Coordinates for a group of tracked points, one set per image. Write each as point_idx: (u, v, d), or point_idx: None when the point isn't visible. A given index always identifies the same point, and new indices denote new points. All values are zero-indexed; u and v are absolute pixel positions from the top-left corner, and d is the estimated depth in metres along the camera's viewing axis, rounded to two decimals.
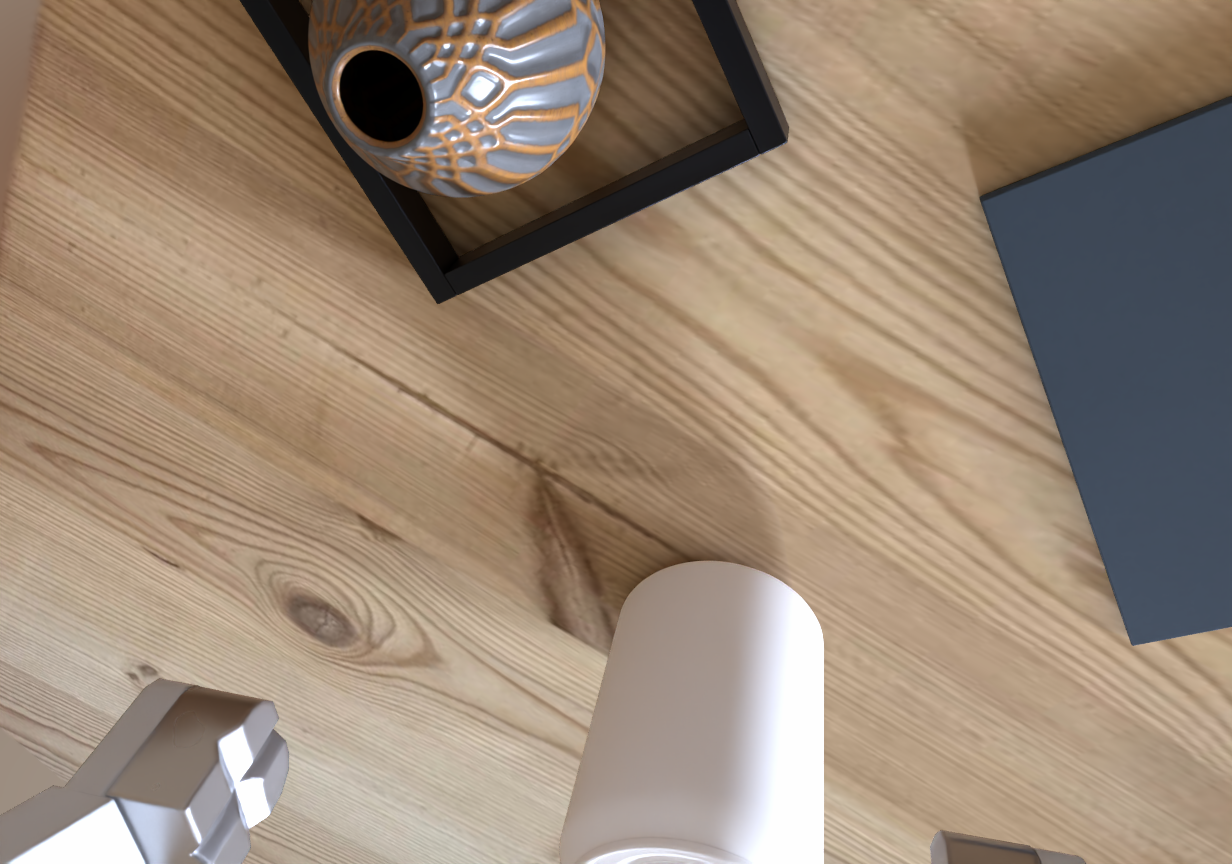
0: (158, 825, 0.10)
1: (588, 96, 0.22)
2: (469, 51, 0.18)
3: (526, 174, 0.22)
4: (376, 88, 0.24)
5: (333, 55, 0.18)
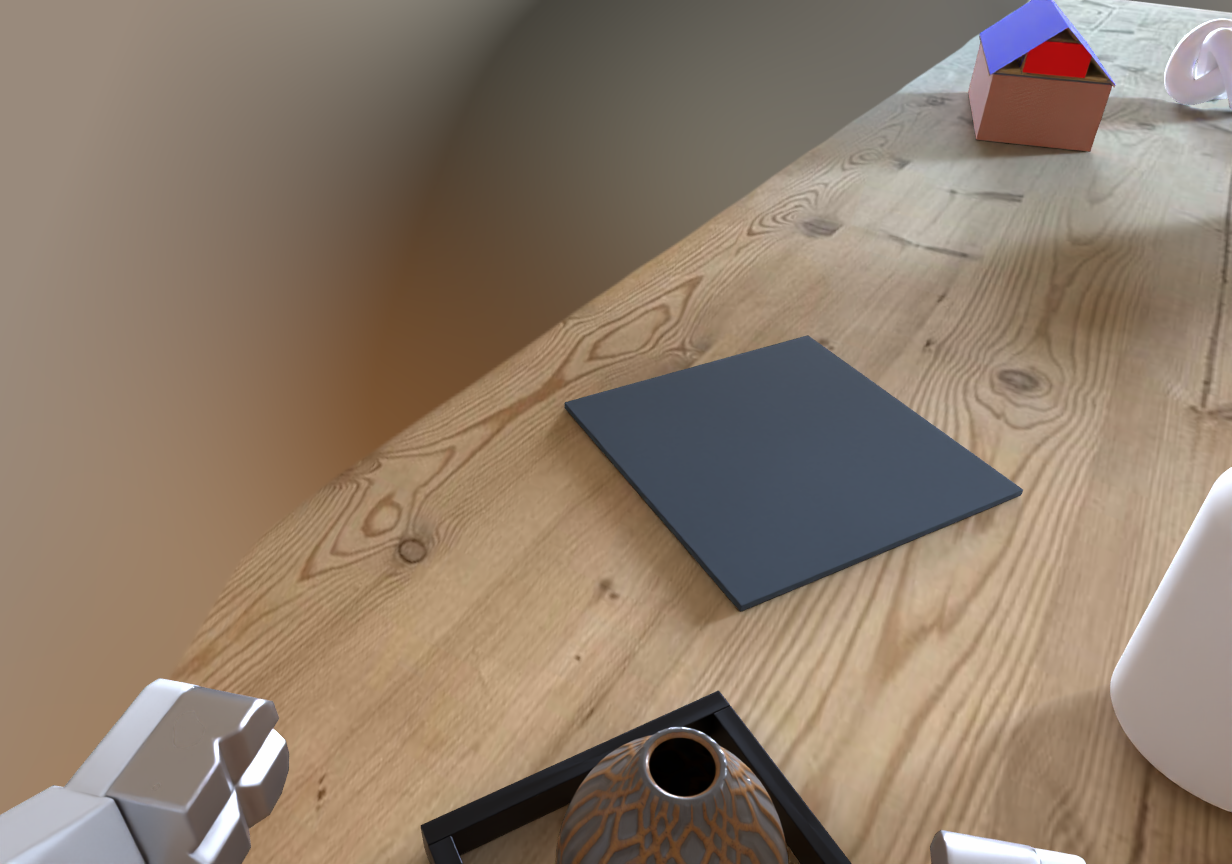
0: (158, 825, 0.10)
1: (692, 755, 0.29)
2: None
3: None
4: None
5: (654, 793, 0.23)
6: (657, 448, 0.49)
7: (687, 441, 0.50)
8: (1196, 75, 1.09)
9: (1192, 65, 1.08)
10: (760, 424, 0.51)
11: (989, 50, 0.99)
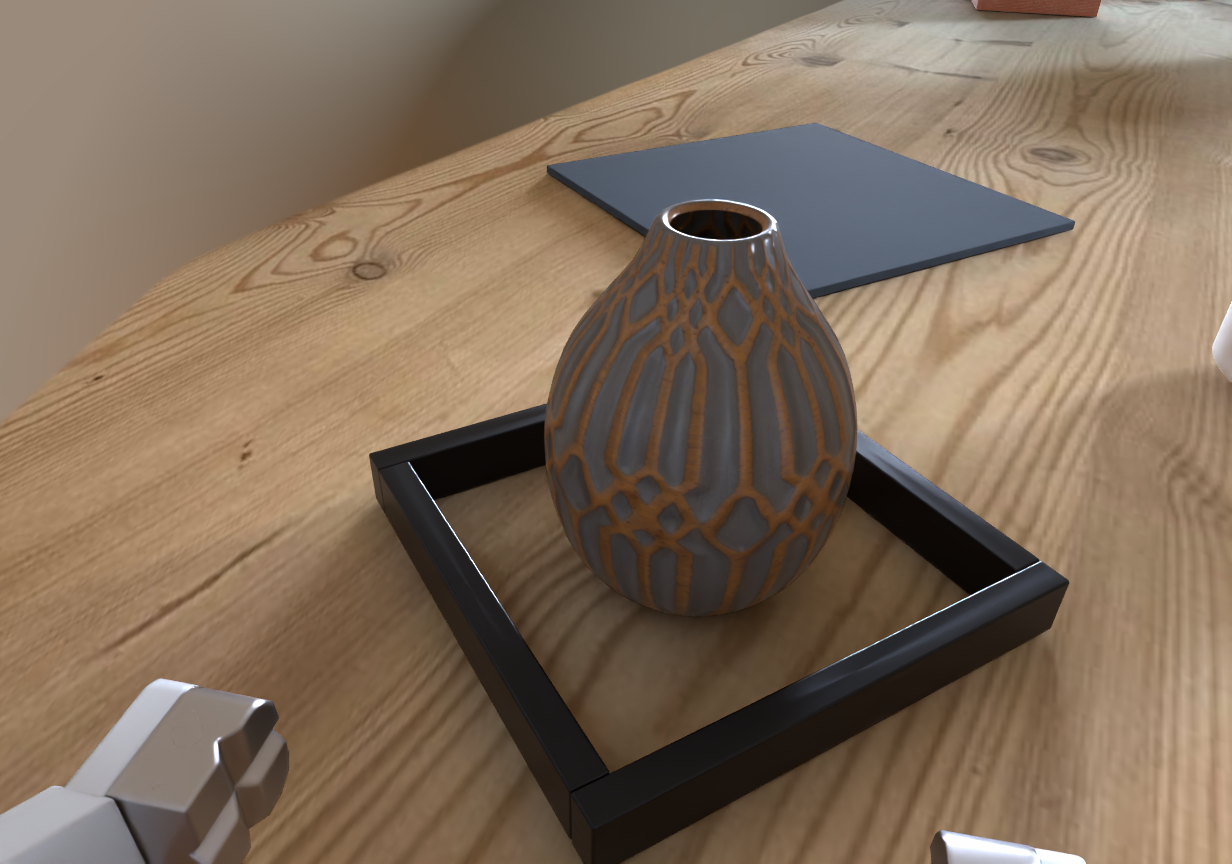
0: (158, 825, 0.10)
1: None
2: None
3: None
4: None
5: (680, 238, 0.17)
6: (654, 195, 0.43)
7: (688, 190, 0.43)
8: None
9: None
10: (770, 179, 0.45)
11: None
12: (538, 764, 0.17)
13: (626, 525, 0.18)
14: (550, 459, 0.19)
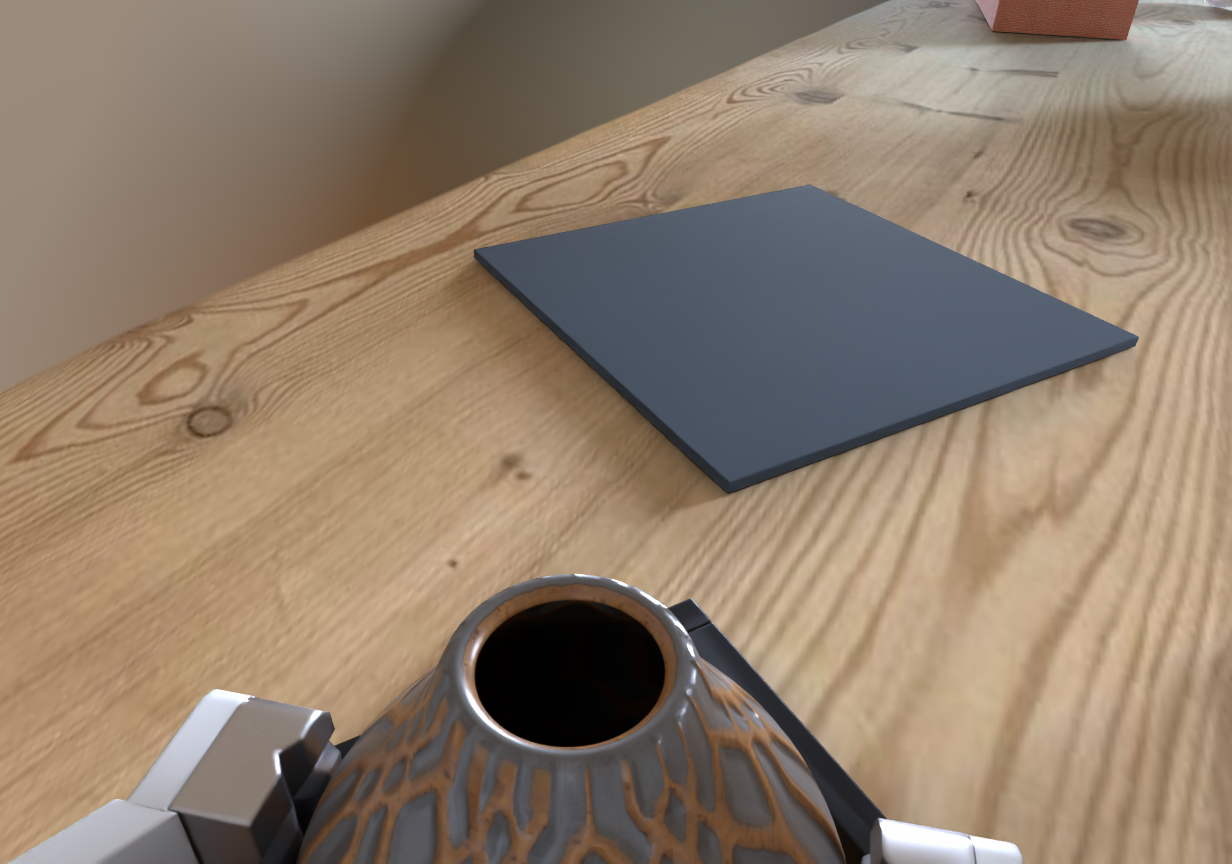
0: (221, 839, 0.10)
1: (629, 692, 0.14)
2: (510, 627, 0.10)
3: None
4: None
5: (477, 738, 0.08)
6: (602, 296, 0.34)
7: (646, 288, 0.34)
8: None
9: None
10: (750, 270, 0.36)
11: None
12: None
13: None
14: None
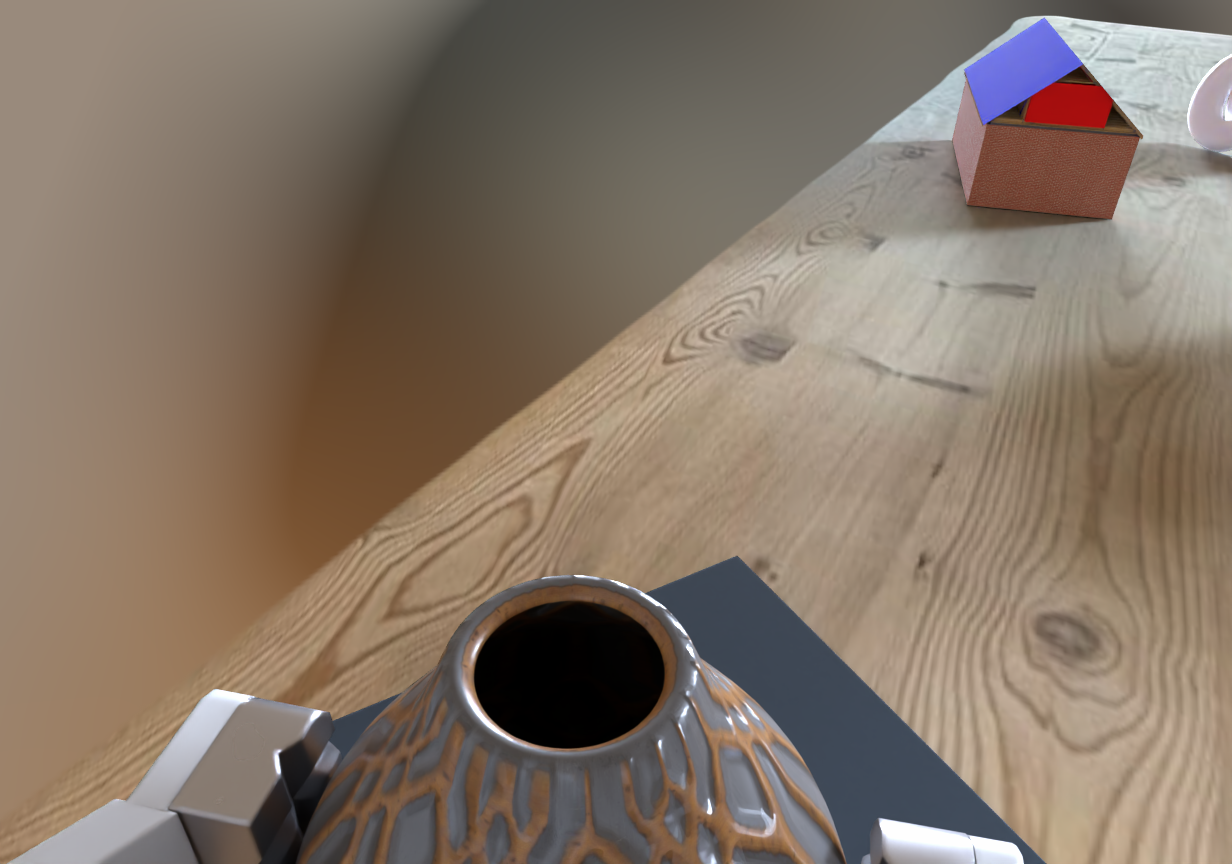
0: (221, 839, 0.10)
1: (630, 692, 0.14)
2: (510, 627, 0.10)
3: None
4: None
5: (476, 740, 0.08)
6: None
7: None
8: (1226, 115, 0.90)
9: (1222, 104, 0.89)
10: None
11: (979, 92, 0.79)
12: None
13: None
14: None
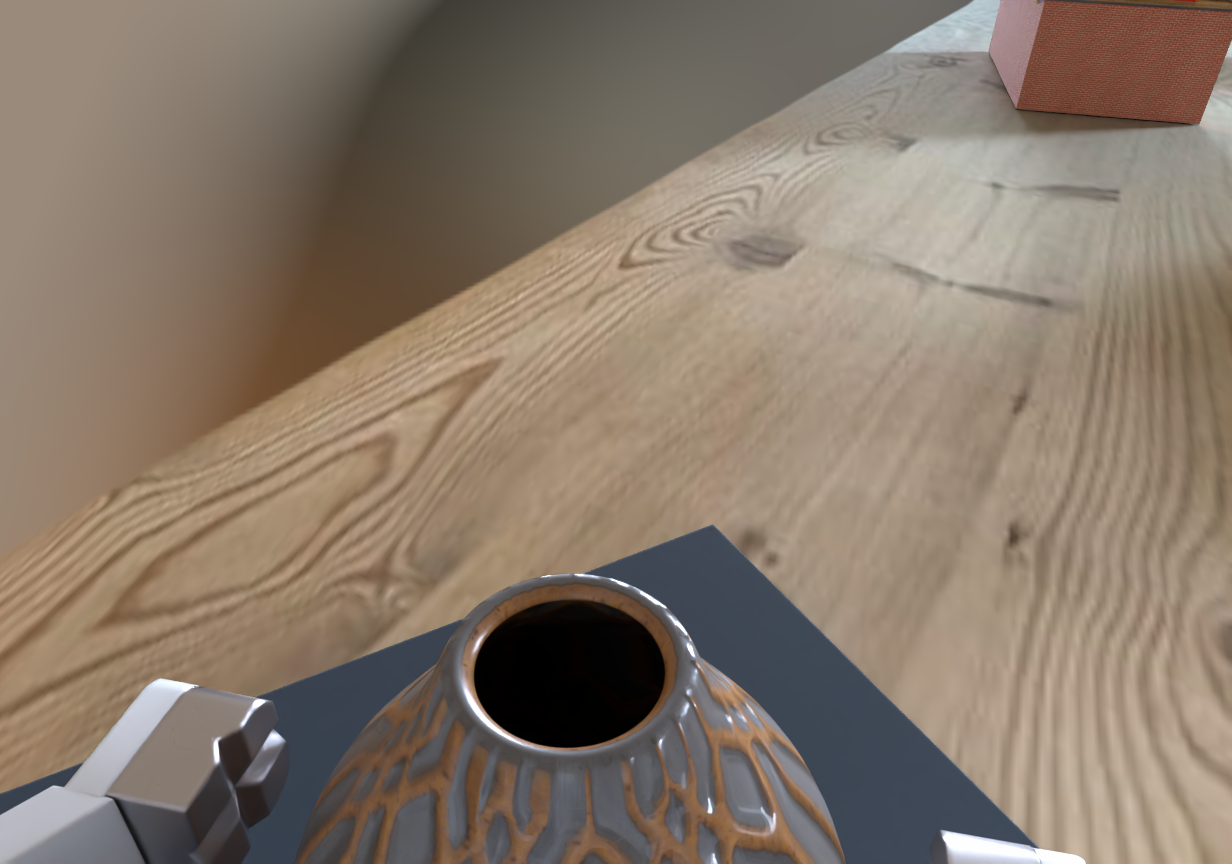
0: (158, 825, 0.10)
1: (628, 691, 0.14)
2: (509, 626, 0.10)
3: None
4: None
5: (476, 739, 0.08)
6: None
7: None
8: None
9: None
10: None
11: None
12: None
13: None
14: None
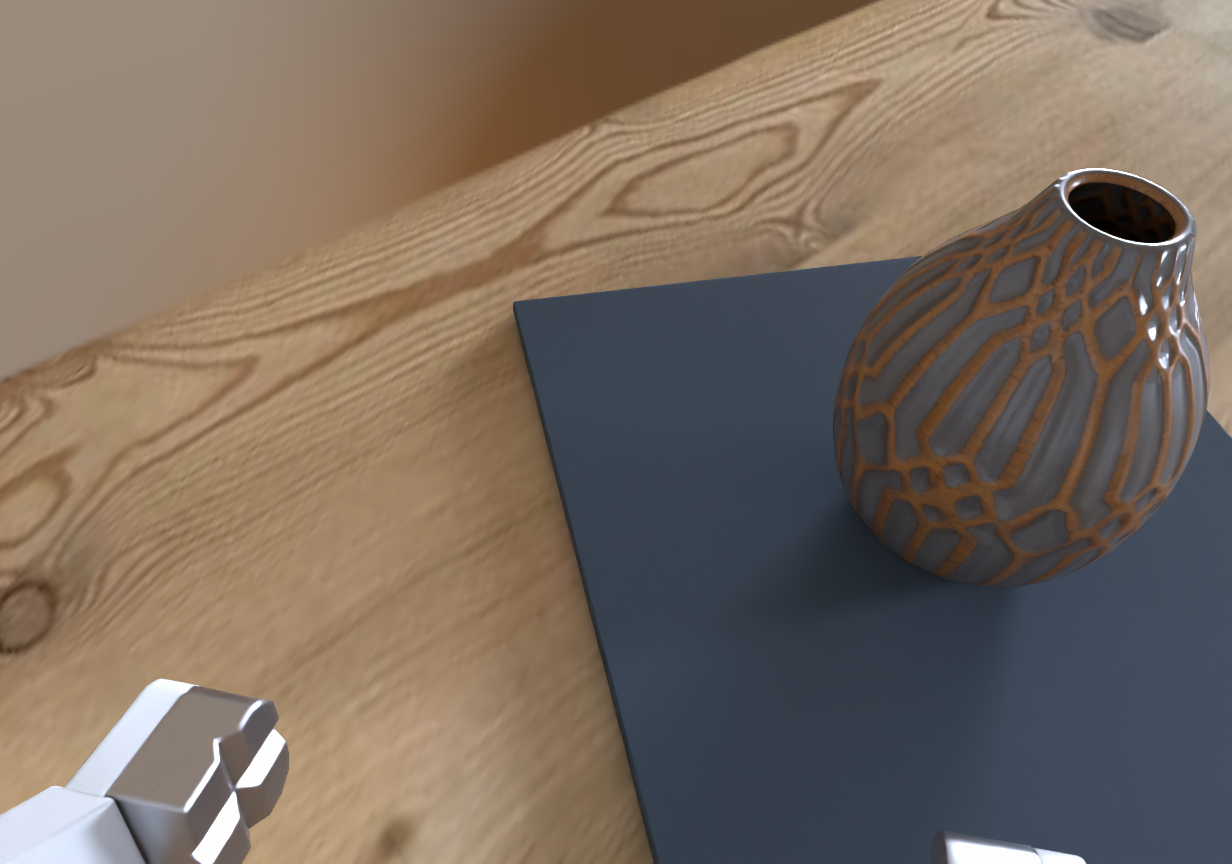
0: (158, 825, 0.10)
1: None
2: None
3: None
4: None
5: (1081, 227, 0.15)
6: (660, 458, 0.22)
7: (731, 452, 0.23)
8: None
9: None
10: None
11: None
12: None
13: (917, 497, 0.17)
14: (849, 401, 0.19)
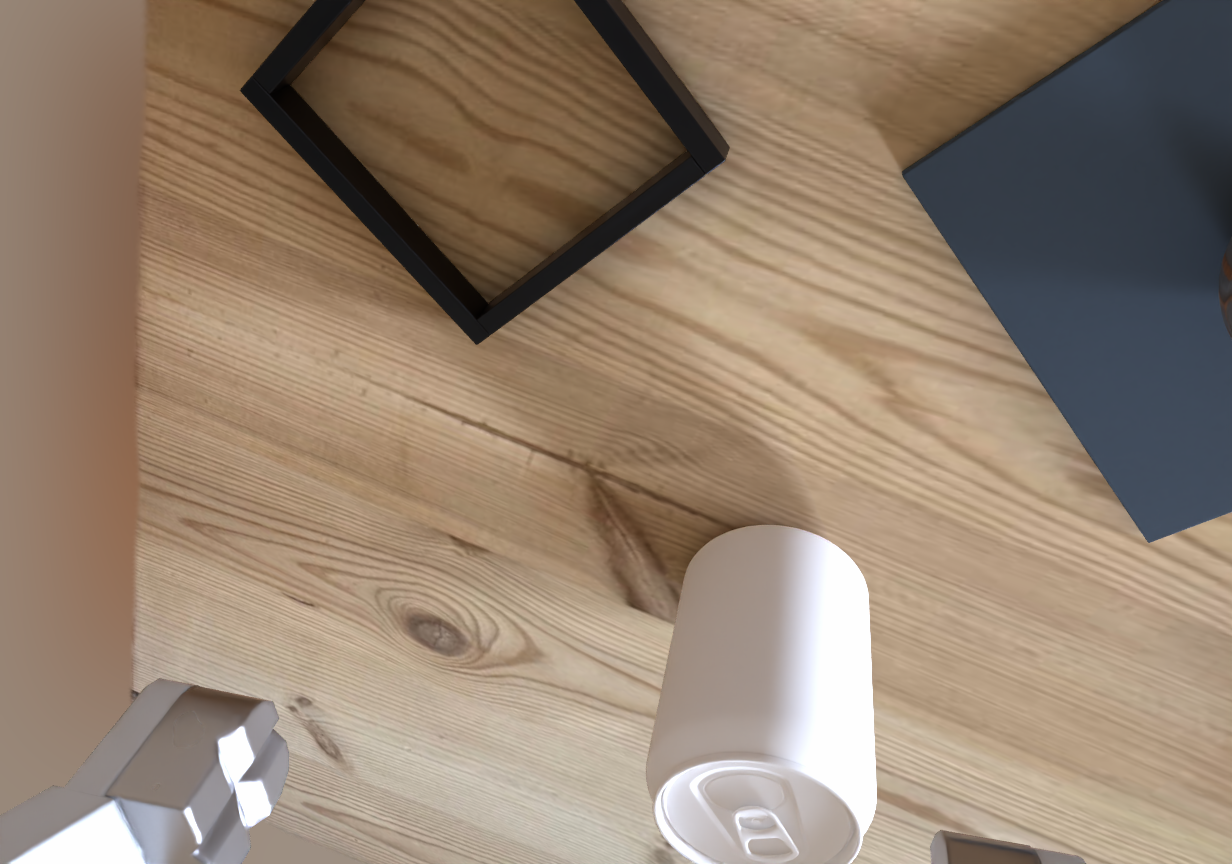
0: (158, 825, 0.10)
1: None
2: None
3: None
4: None
5: None
6: None
7: None
8: None
9: None
10: None
11: None
12: None
13: None
14: None
